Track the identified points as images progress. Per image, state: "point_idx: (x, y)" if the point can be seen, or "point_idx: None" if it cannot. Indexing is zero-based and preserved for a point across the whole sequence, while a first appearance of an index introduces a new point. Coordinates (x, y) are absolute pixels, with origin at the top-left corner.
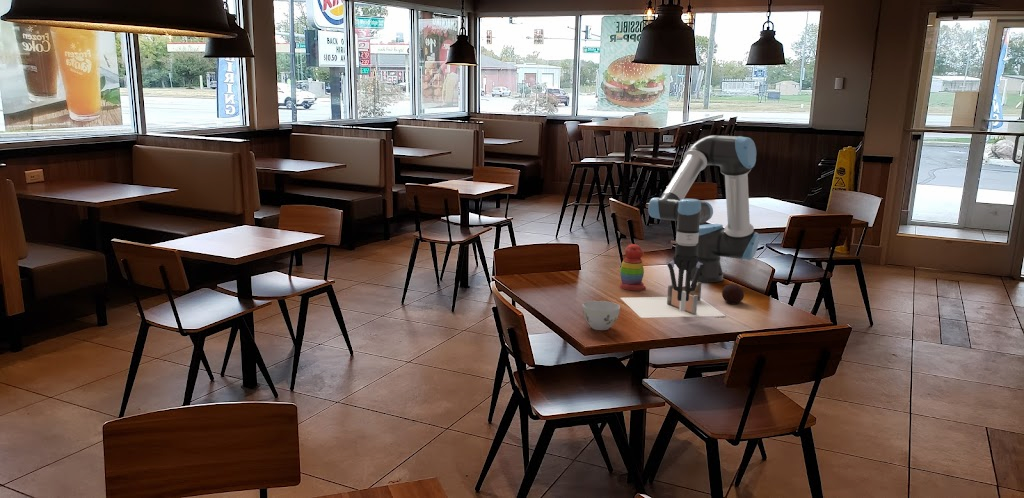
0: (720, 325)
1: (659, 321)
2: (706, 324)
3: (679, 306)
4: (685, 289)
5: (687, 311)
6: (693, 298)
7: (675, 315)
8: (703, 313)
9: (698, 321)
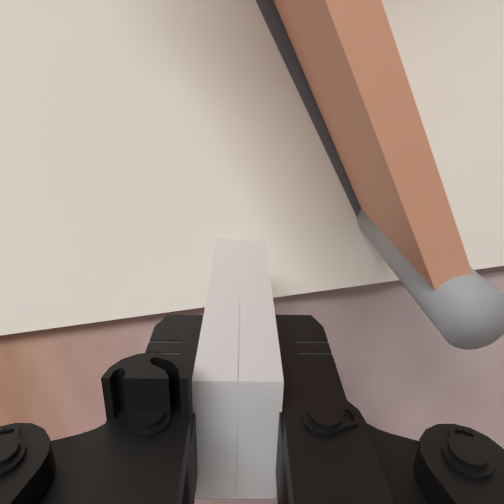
0: (485, 427)
1: (36, 377)
2: (389, 414)
3: (215, 249)
4: (281, 473)
5: None
6: (419, 293)
7: (178, 269)
8: (483, 180)
9: (354, 355)
